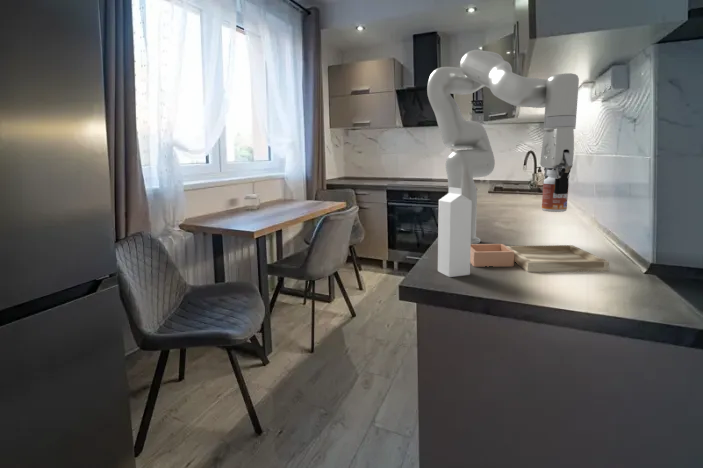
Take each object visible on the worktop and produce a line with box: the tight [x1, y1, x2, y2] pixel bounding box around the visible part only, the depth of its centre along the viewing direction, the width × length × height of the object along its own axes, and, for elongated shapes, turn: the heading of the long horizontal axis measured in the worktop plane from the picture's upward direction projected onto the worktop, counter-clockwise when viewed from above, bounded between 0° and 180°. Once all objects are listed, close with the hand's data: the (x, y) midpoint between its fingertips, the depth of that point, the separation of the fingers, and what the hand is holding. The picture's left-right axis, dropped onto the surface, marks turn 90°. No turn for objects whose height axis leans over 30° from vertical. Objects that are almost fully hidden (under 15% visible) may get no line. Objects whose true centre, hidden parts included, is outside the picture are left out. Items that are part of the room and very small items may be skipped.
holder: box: [470, 243, 515, 268], centre depth 118 cm, size 11×11×4 cm
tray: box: [506, 244, 610, 273], centre depth 116 cm, size 20×20×2 cm
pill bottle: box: [541, 169, 570, 213], centre depth 112 cm, size 6×6×11 cm
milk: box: [437, 187, 472, 278], centre depth 106 cm, size 6×6×22 cm
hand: (555, 192), depth 112 cm, fingers closed on pill bottle, 6 cm apart
